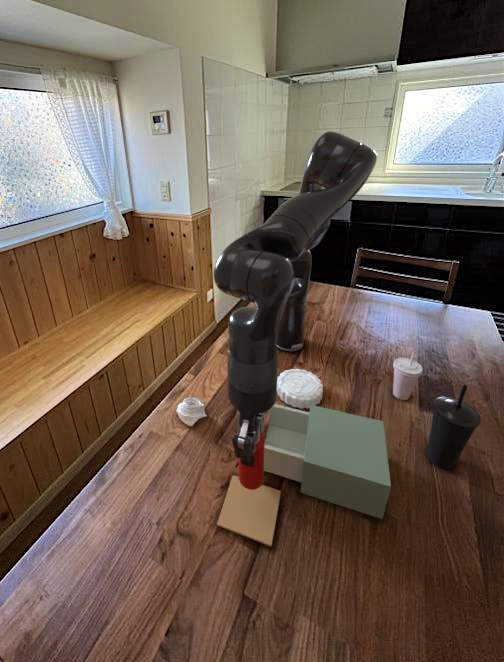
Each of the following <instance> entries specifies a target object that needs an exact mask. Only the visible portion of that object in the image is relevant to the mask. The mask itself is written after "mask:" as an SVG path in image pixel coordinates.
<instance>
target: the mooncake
mask: <svg viewBox="0 0 504 662" xmlns="http://www.w3.org/2000/svg"><path fill="white" fill-rule="evenodd" d="M323 395H324V385H323V383H322V380H321V379H320V378H318V376H317V375H316V374H313V372H311V371H307V370H306V369H300V368H296V369H294V368H290V369H288V370H286V369H285V370H284V371H283V372H281V373H280V374H279V375H278V376H277V396H278V397H280V400H281V401H282V402H285V404H286V405H288V406H291V408H298V409H299V410H303V409H307V410H308V409H309V410H310V406H311V405H314V406H317V405H320V403H321V401H322V400H323Z"/></svg>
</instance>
